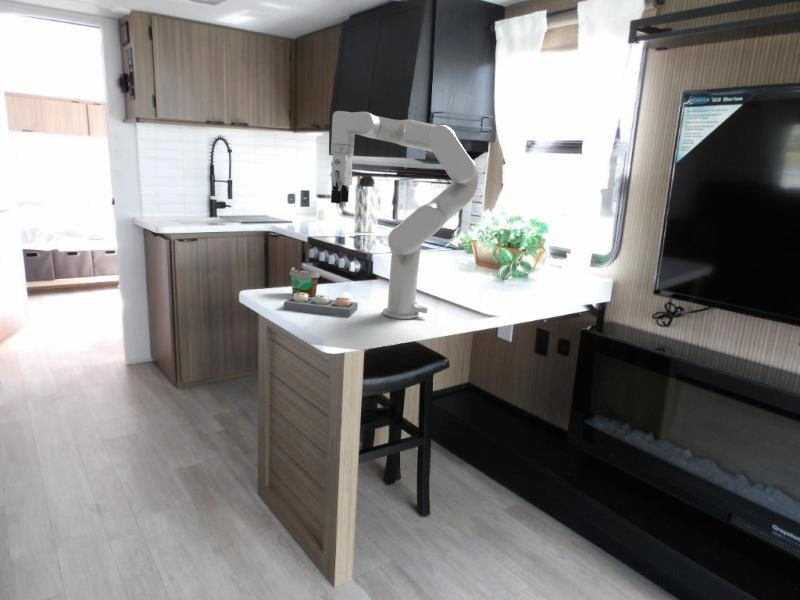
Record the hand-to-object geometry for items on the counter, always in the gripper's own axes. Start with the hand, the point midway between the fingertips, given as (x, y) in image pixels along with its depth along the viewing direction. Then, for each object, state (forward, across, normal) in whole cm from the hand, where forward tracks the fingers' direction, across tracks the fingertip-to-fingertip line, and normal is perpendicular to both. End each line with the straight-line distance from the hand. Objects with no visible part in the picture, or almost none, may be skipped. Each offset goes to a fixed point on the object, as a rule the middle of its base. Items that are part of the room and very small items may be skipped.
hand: (339, 202), depth 191 cm
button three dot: (+35, -5, -4) cm, 36 cm away
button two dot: (+35, -6, +11) cm, 37 cm away
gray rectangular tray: (+37, -6, +3) cm, 37 cm away
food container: (+37, +10, +16) cm, 42 cm away
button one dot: (+35, -6, +3) cm, 36 cm away
